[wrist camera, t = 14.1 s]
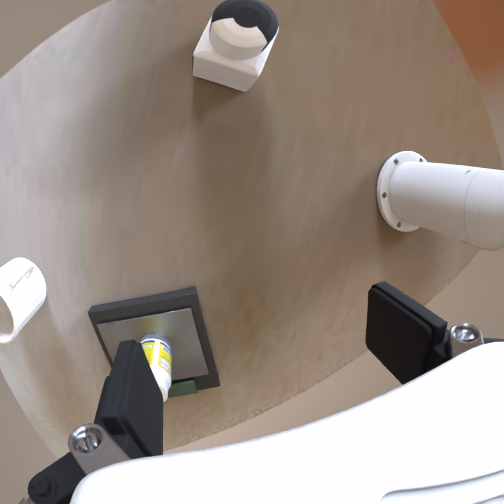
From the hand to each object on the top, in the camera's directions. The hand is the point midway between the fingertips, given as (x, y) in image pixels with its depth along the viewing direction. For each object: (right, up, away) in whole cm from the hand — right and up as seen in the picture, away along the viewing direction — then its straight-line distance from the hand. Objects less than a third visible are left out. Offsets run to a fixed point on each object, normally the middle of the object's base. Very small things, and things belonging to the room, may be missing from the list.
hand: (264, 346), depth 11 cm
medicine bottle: (-3, +27, +19) cm, 34 cm away
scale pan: (-14, -9, +26) cm, 31 cm away
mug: (-31, 0, +21) cm, 38 cm away
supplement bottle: (-13, -10, +25) cm, 30 cm away
